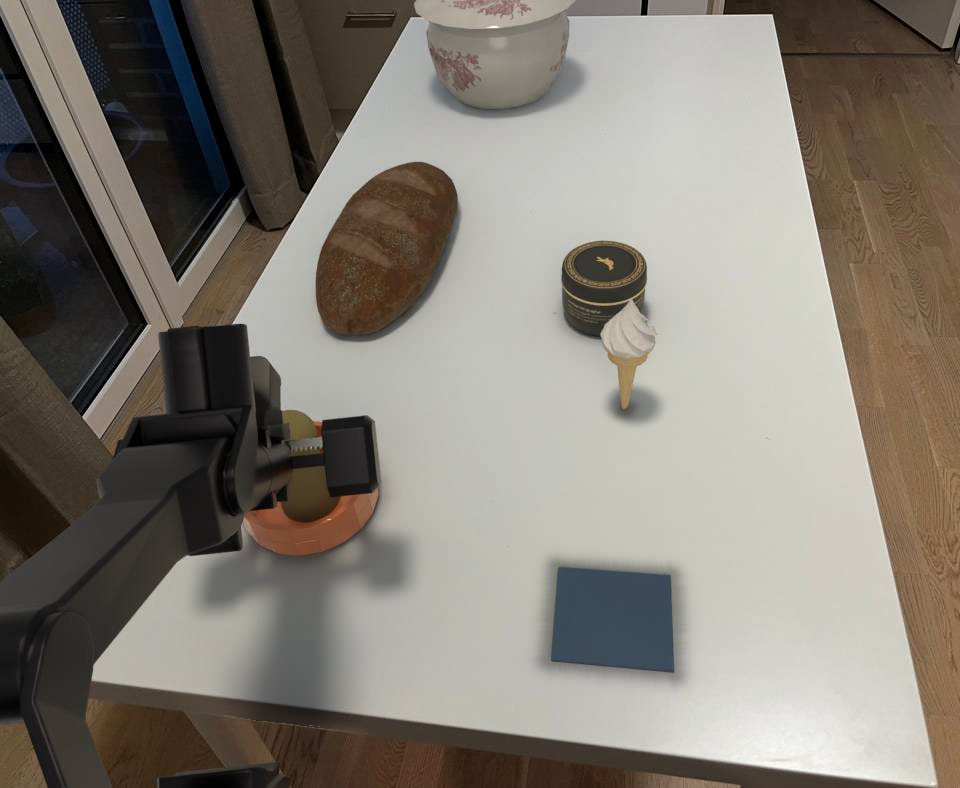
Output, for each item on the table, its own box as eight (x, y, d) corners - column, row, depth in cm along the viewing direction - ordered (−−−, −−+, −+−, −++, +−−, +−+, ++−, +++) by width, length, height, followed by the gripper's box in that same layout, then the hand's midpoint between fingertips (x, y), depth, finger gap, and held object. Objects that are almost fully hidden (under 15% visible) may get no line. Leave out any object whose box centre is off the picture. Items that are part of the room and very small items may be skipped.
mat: (551, 661, 66) (551, 659, 66) (558, 568, 72) (558, 566, 72) (673, 672, 65) (674, 670, 64) (670, 576, 71) (670, 575, 71)
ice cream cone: (653, 425, 84) (665, 315, 73) (600, 428, 84) (604, 318, 74) (646, 388, 88) (656, 279, 77) (595, 391, 88) (598, 282, 78)
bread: (476, 189, 121) (471, 137, 115) (412, 347, 96) (402, 292, 90) (378, 185, 124) (369, 135, 118) (292, 337, 99) (275, 283, 93)
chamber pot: (551, 136, 131) (549, 3, 116) (401, 120, 139) (382, -5, 125) (595, 66, 149) (598, -56, 134) (460, 56, 157) (449, -60, 143)
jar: (587, 280, 103) (588, 230, 97) (658, 304, 98) (663, 253, 93) (546, 323, 97) (545, 272, 92) (619, 351, 93) (622, 299, 87)
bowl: (327, 578, 74) (316, 551, 70) (216, 528, 79) (202, 500, 76) (404, 474, 82) (397, 445, 79) (299, 435, 87) (289, 406, 84)
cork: (336, 521, 78) (310, 447, 70) (275, 523, 78) (243, 449, 70) (344, 473, 82) (321, 398, 74) (287, 475, 82) (258, 401, 75)
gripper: (351, 347, 56) (379, 357, 72) (90, 375, 56) (175, 379, 72) (367, 503, 56) (392, 480, 72) (106, 531, 56) (187, 501, 72)
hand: (286, 457), depth 72 cm, fingers open, 9 cm apart
